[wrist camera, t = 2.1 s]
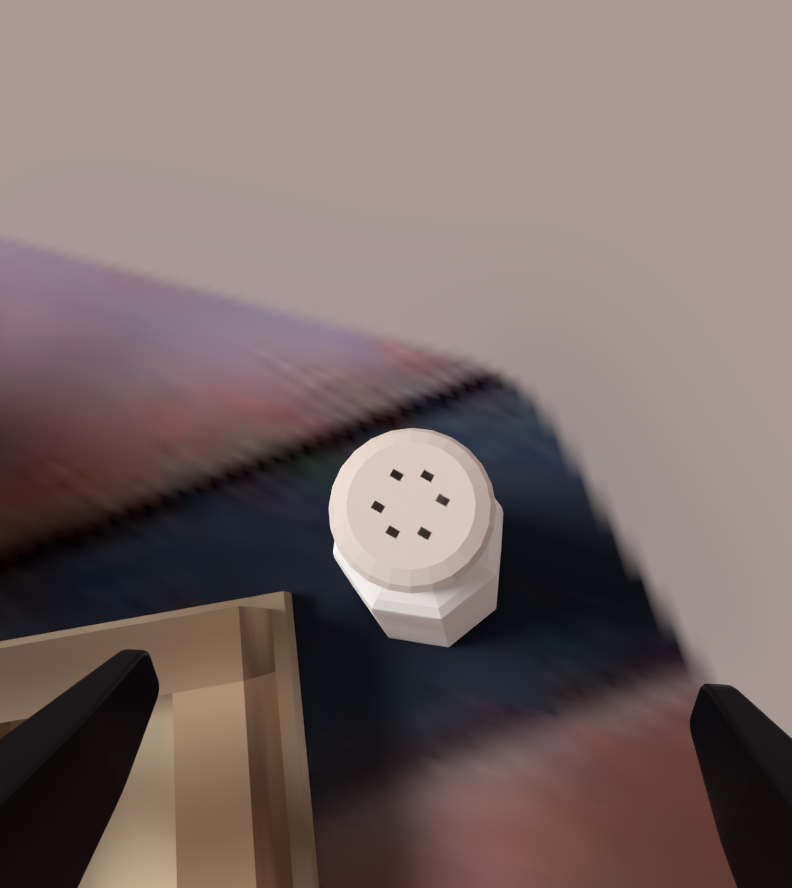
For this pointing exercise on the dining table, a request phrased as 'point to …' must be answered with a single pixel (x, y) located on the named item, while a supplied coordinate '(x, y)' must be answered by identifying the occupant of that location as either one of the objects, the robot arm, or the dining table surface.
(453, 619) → the pepper shaker
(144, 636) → the socket holder
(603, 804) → the dining table surface
